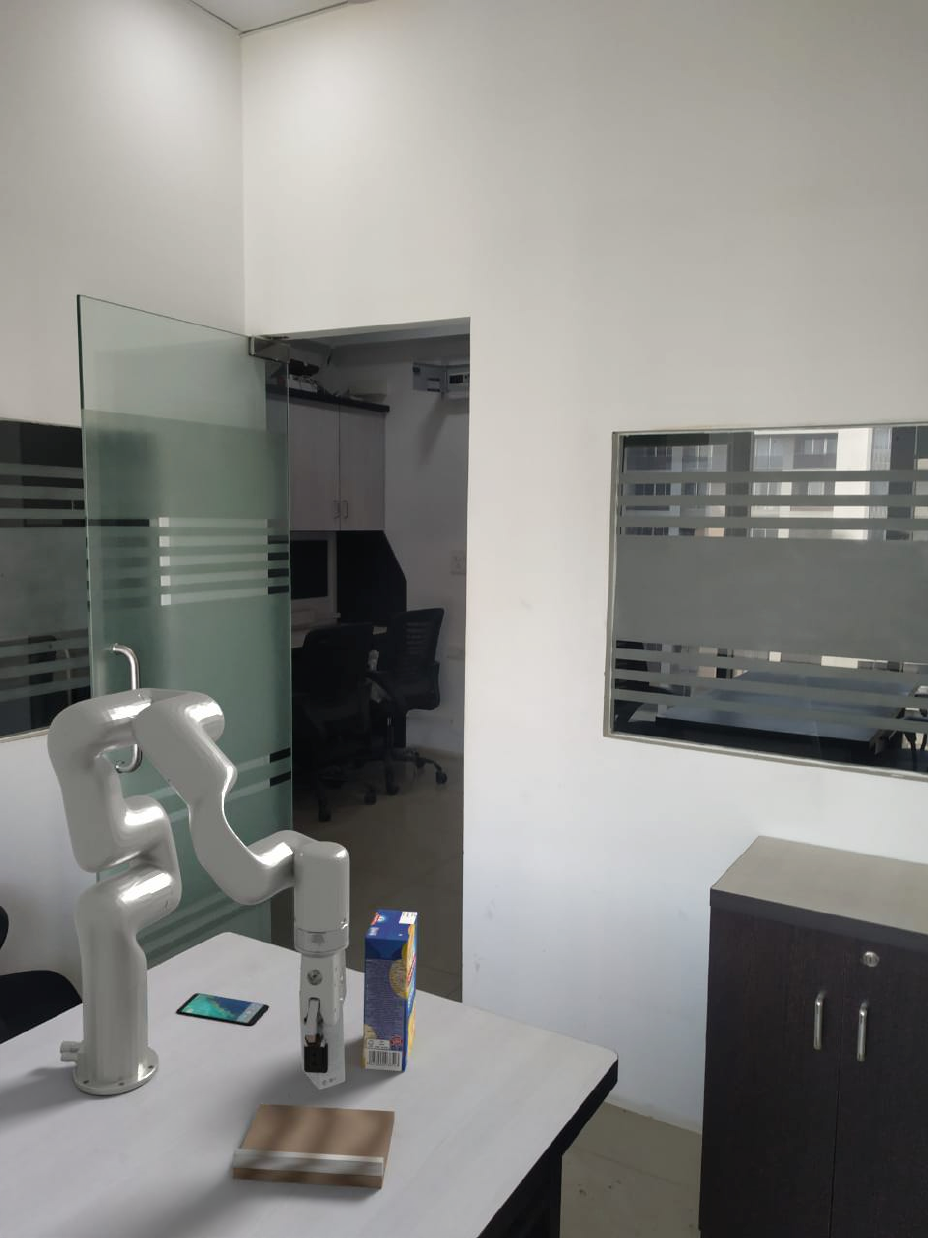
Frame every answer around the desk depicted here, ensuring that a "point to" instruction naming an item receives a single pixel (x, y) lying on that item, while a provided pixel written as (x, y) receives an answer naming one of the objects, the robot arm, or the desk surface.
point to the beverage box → (389, 990)
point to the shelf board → (316, 1146)
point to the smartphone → (223, 1009)
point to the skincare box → (329, 1053)
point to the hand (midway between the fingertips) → (321, 1054)
